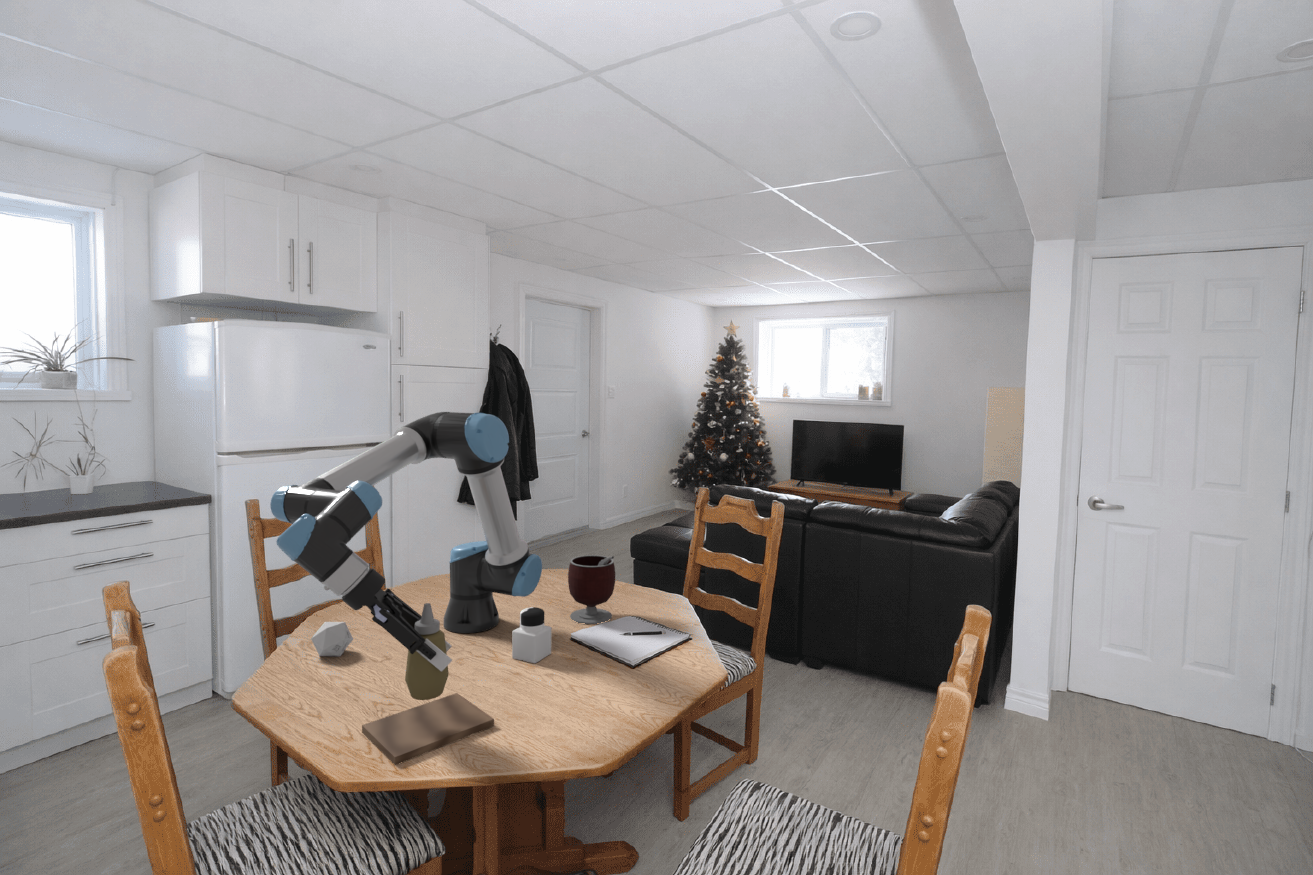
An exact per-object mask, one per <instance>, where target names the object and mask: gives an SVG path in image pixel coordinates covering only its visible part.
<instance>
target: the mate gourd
mask: <svg viewBox="0 0 1313 875" xmlns="http://www.w3.org/2000/svg"><path fill="white" fill-rule="evenodd" d="M614 558H615V556H613V555H611V556H605V555H598V554H591V555H590V554H586V555H578V556H575V557H572V558H571V559H570V560H569V562H570V563H569V566H568V571H567V572H568V573H567V584H568V590H569V594H570V596H571V597H572V598H573V600H574V601H575V602H576V603H577V604H581V605H584V606H586V607H585V608H580V609H576V610H574V611H572V612H571V613H570V615H569V616H570V617H569V618H571V619H572V620H574V621H576V622H578V623H577V624H579V623H585V624H596V625H598V624H597V623H601V622H605V621H608V620H609V619H611V618H612V617H613V614H612V613H611V611H609V610H607V609H603V608H597V606H598V605H599V606H600V605H602V604H604V603H607V602H608V600H609V599H610V598H611V597H612V595H613V593H614V591H615V590H614V589H615V586H616V568H615V561H614ZM571 619H570V620H571ZM572 620H571V621H572ZM611 620H612V619H611ZM576 622H575V623H576ZM608 622H609V621H608ZM585 624H584V625H585Z"/></svg>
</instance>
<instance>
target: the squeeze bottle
mask: <svg viewBox="0 0 1313 875" xmlns="http://www.w3.org/2000/svg"><path fill="white" fill-rule="evenodd" d="M433 613H434V612H433V608H432V605H431V603H429V602H427V603H424V604H423V608H422V613H421V620H419V621H417V622H415V630H416V631H417V632H418V633H419V634H420V635H421V636H422V637H423V638H424V639H426V638H427V639H428V640H429V641H431V642H432V643H433V644H434V645H435V646H437V647H438V648H439V649H440V650H441V651H443V652H444V653H445V654H446V655H447V656H448V654H447V652H446V643H445V640H446V635H445V632H443V631H442V630H441V629H440V627H441V625H440V620H439V619H436V618H434V617H435V616H434V614H433ZM413 643H414V642H413ZM448 678H449V665H448V666H447V667H446V668H445V669H444V670H443V671H442V672H441V671H440V670H439V669H438V668H436V667H435V666H434V665H433V664H431V663H430V662H429V661H428V660H427V659H425V658H424V657H423V656H422V655H421V654H419V653H418V652H417V651H415V652H414V653H413V654H411V653H410V651H409V650H408V649H407V657H406V669H405V675H404V681H405V683H406V686H407V690H408V692H409V694H410V697H411V698H412V699H414V700H418V701H429V700H433V699H436V698H438V697H440V696H441V695H442V694H443V692H444V689H445V687H446V683H447V681H448Z"/></svg>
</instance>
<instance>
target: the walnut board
mask: <svg viewBox="0 0 1313 875" xmlns="http://www.w3.org/2000/svg"><path fill="white" fill-rule="evenodd" d="M493 727H495V718H494V717H492V716H491V715H489V714H488V713H487V712H485V711H484V710H482V709H481V708H479V707H478V706H476V705H475V704H473V703H472V702H471V701H470V700H468V699H467V698H465V697H464V696H462V695H461V694H460V693H458V692H456V693H453V694H449V695H447V696H444V697H441V698H438V699H434V700H432V701H429V702H426V703H423V704H421V705H418V706H414V707H411V708H409V709H406V710H403V711H400V712H399V711H398V712H397V713H394V714H391V715H387V716H385V717H382V718H380V719H376V720H374V721H370V722H368V723H364V724H362V725H361V733H362V734H363V735H364V736H365V737H366V738H367V739H368V740H369V741H370V742H371V743H372V744H373V745H374V746H375V747H376V748H377V749H378V750H379V751H380V752H381V753H382V754H383V755H384V756H385V757H386V758H387V759H388V760H389V761H390V760H391V761H392V762H391V761H390V762H391V763H392V764H393V763H394V764H393V766H397V765H400V764H402V763H404V761H405V762H407V761H409V760H412V759H415V758H417V757H419V756H422V755H425V754H426V753H430V752H431V751H435V750H438V749H440V748H442V747H445V746H448V745H450V744H452V743H455V742H457V741H460V740H463V739H465V738H467V737H470V736H472V735H473V736H474V735H475V734H478V733H480V732H482V731H486V730H488V729H491V728H493ZM406 760H407V761H406ZM401 762H402V763H401ZM399 763H400V764H399Z"/></svg>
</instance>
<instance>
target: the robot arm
mask: <svg viewBox="0 0 1313 875" xmlns="http://www.w3.org/2000/svg"><path fill="white" fill-rule="evenodd" d="M509 436H510V435H509V431H508V428H507V427H506V425H505V423H504V422H503V420H501V419H500V418H499V417H498V416H496V415H494V414H489V413H484V412H459V411H458V412H457V411H456V412H455V411H452V412H451V411H440V412H434V413H431V414H428V415H426V416H425V415H424V416H423V417H420V418H418V419H415V420H413V421H411V422H410V423H407V424H406V425H403V426H401V427H400V428H398V429H396V430H395V431H394V434H393V436H392V437H390V438H388V439H386V440H385V441H383V442H380V443H379V444H377V445H375V446H373V447H371V448H369V449H368V450H366V451H364V452H362V453H359V454H358V455H357V456H353V458H351V459H349V460H347V461H345V462H343V463H342V464H341V463H340V465H337V466H336V467H334V468H331V469H330V470H328V471H326V472H324V473H322V474H320V475H319V476H316V477H315V478H312V479H311V480H309V481H307V482H305V483H303V484H301V485H297V484H292V485H283V486H281V487H279V488H278V489H277V490H275V492H274V493H273V494H272V497H271V499H270V506H269V507H270V512H271V514H272V515H273V517H274V518H275V519H276V520H278V521H280V522H284V523H289V524H291V525H290V526H289V527H287V528H286V529H285V530H284V531H283V532H282V533H281V534H280V535H279V536H278V537H277V539H276V545H277V547H278V548H279V549H280V550H281V551H282V552H283V553H284V554H285V555H286V556H287V557H288V558H289V559H290V560H291V561H292V562H295V563H296V564H297V565H299V567H301V568H303V570H305V571H306V572H308V573H309V574H310V575H311V576H312V577H314V578H315V579H316V580H318V582H320V583H321V584H323V589H324V590H325V591H329V590H330V592H332V593H333V594H335V595H336V596H337V597H341V600H342V601H343V602H344V603H345V604H346V605H347V606H348V607H350V608H351V609H352V610H353V611H359V610H361V609H362V608H363V607H367V608H368V609H369V611H370V614H371V615H372V618H371V620H372V621H373V622H374V623H376V624H377V625H378V626H380V627H381V628H382V629H384V630H385V631H387V632H388V634H389V635H391V636H392V637H393V638H394V639H395V640H396V641H397V642H399V643H400V644H401V645H403V647H404V648H406V649H407V651H408V650H409V651H410V653H411V654H413V653H414V652H415V651H417V652H418V653H419V654H421V655H422V656H423V657H424V658H425V659H427V660H428V661H429V662H430V663H431V664H433V665H434V666H435V667H436V668H438V669H439V670H440V671H441V672H442V671H443V670H444V669H445V668H446V667H447V666H448V667H449V665H450V664H451V663H452V662H453V659H452V658H451V657H450V656H449V655H448V654H447V655H446V654H445V653H444V652H443V651H441V650H440V649H439V648H438V647H437V646H435V645H434V644H433V643H432V642H431V641H429V640H428V639H427V638H426V639H424V638H423V637H422V636H421V635H420V634H419V633H418V632H417V631H416V630H415V622H417V621H419V620H421V616H422V614H420V613H418V612H417V611H416V610H415V609H413V607H411V606H410V605H409V604H407V603H406V602H405V601H404V600H402V599H401V598H400V597H399V596H397V595H396V594H395V593H394V592H393V591H392V590H391V589H390V588H388V587H387V588H386V589H385V590H383V589H382V588H383V587H384V585H385V583H386V579H385V577H384V576H383V575H382V574H381V573H379V572H378V571H377V570H376V569H375V568H371V567H370V568H369V566H370V564H369V563H368V562H367V561H365V560H364V559H363V558H361V556H359V555H358V554H357V553H356V552H355V551H353V550H352V549H351V548H350V547H349V546H348V545H347V544H348V543H349V542H351V540H352V539H353V538H354V537H355V536H356V535H357V534H358V533H359V532H360V531H361V530H362V529H363V528H364V527H365V526H366V525H367V524H369V523H370V521H371V520H373V519H374V517H375V515H376V514H377V513H378V511H380V509H381V508H382V506H383V498H382V496H381V495H380V492H379V491H378V489H377V488H376V487H374V486H375V485H376V484H377V485H378V483H380V482H382V481H384V480H385V479H387V478H388V477H390V476H392V475H394V474H395V473H397V472H399V471H400V470H402V469H404V468H405V467H407V466H409V465H410V464H411V465H418V464H420V463H422V462H424V461H425V460H430V459H450V460H454V461H455V464H456V468H457V471H458V473H459V474H461V475H463V476H465V477H466V479H467V482H468V485H469V488H470V492H471V496H472V498H473V501H474V506H475V509H476V512H477V515H478V518H479V521H480V525H481V528H482V531H483V535H484V538H485V540H478V541H472V542H471V541H470V542H465V543H462V544H459V545H458V544H457V545H455V546H454V547H452V549H451V551H450V556H449V561H448V562H449V600H448V603H447V607H446V610H445V612H444V616H443V628H444V629H445V630H446V631H449V632H453V633H459V634H473V633H479V632H485V631H487V630H491V629H493V628H495V627H496V626H498V625H499V621H500V615H499V614H500V613H499V611H498V608H497V605H496V601H495V599H494V596H493V594H494V593H497V594H501V595H506V596H511V597H522V598H523V597H528V596H530V595H531V594H532V593H533V592H534V591H535V590H536V588H537V587H538V585H539V582H540V579H541V576H542V570H543V562H542V558H541V557H540V556H539V555H538V554H536V553H531V552H530V549H529V544H528V543H527V541H526V540H524V539H522V538H520V534H519V530H518V526H517V522H516V519H515V515H514V512H513V507H512V505H511V501H510V497H509V494H508V493H509V492H508V489H507V486H506V482H505V478H504V476H503V472H502V469H501V466H502V465H503V464H504V462H505V457H506V456H507V454H508V451H509V445H508V444H509V443H510V437H509ZM413 642H414V643H413ZM445 643H446V653H447V652H448V651H450V649H451V648H452V644H450V642H448V641H447V640H446V639H445Z"/></svg>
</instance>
